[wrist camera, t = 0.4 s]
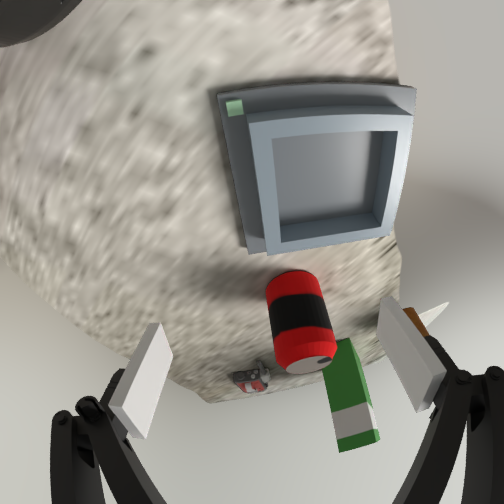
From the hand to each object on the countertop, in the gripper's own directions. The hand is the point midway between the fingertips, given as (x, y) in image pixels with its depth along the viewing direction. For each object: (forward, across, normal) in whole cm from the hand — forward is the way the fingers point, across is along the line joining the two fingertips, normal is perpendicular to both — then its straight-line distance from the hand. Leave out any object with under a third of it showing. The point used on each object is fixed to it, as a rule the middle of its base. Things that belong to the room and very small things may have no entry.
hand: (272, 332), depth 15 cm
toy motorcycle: (+36, -7, -40) cm, 54 cm away
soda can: (+22, +3, -9) cm, 24 cm away
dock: (+14, +7, +7) cm, 17 cm away
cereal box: (+36, +15, -38) cm, 54 cm away
